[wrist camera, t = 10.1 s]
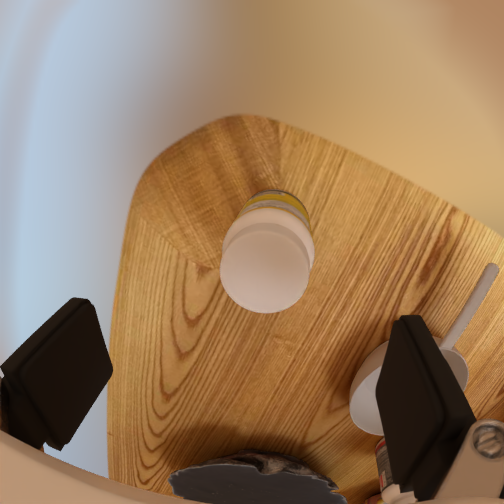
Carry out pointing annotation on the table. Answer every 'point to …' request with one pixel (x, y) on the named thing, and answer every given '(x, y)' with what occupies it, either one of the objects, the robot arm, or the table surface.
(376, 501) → the anatomical model
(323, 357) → the table surface
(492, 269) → the small pan
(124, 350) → the table surface
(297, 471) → the board
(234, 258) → the supplement bottle
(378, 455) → the pill bottle
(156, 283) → the table surface
